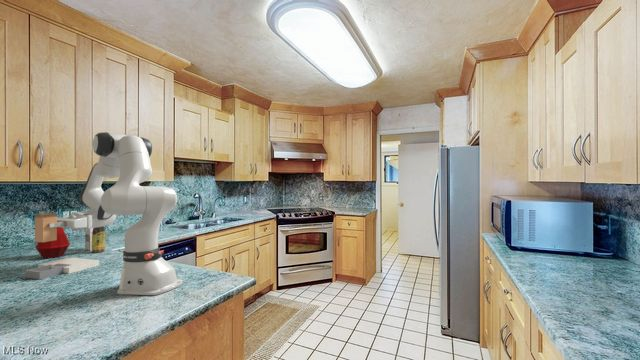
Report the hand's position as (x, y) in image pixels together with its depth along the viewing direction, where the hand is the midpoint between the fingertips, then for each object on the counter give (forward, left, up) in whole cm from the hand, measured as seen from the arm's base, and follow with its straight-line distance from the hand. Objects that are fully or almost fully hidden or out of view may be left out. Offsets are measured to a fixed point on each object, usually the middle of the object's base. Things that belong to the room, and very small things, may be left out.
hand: (43, 225), depth 120 cm
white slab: (+2, -7, -22) cm, 23 cm away
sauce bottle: (+20, -38, -22) cm, 48 cm away
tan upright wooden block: (0, -1, -7) cm, 7 cm away
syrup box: (+30, -42, -22) cm, 56 cm away
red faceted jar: (+34, -24, -22) cm, 47 cm away
